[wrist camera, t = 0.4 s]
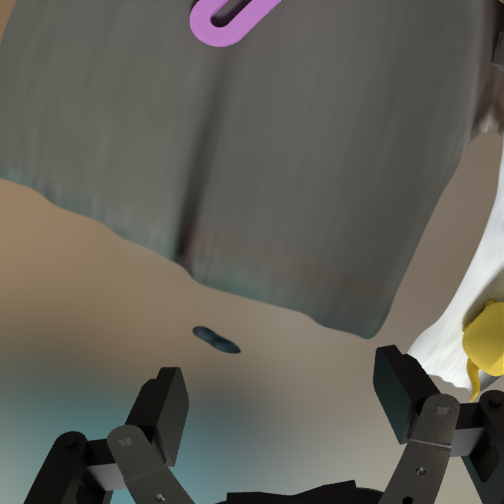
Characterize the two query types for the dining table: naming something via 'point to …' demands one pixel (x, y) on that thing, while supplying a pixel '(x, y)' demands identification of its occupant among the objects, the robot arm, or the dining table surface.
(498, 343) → the teapot
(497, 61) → the housing base
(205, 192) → the dining table surface
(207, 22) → the bracket
